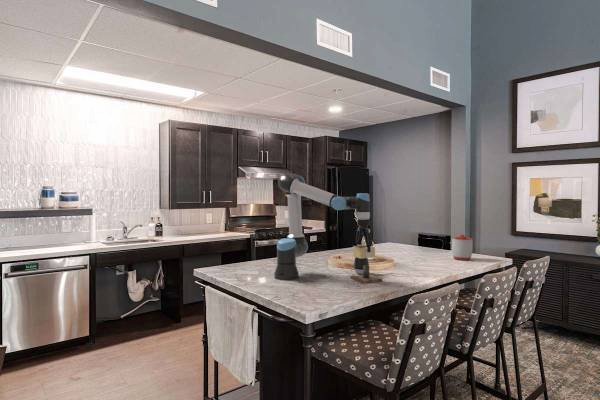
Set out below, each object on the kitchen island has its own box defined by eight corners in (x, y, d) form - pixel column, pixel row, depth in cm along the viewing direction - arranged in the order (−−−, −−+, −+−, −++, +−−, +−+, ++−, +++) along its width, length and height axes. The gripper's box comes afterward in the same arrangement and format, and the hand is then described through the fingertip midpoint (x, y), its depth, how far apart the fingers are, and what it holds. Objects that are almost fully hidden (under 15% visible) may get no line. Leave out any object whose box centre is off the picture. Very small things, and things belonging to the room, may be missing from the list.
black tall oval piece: (351, 274, 235) (351, 250, 235) (356, 271, 244) (356, 248, 244) (366, 276, 230) (366, 251, 230) (371, 272, 239) (371, 249, 239)
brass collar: (360, 258, 212) (360, 248, 212) (353, 256, 221) (352, 246, 221) (374, 257, 215) (374, 247, 215) (367, 255, 224) (366, 245, 224)
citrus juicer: (455, 256, 302) (455, 232, 302) (476, 259, 288) (476, 234, 288) (445, 258, 292) (445, 233, 292) (467, 261, 279) (467, 235, 278)
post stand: (361, 283, 210) (361, 269, 210) (350, 278, 223) (350, 264, 223) (382, 281, 215) (382, 267, 215) (370, 276, 228) (370, 263, 228)
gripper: (378, 219, 209) (379, 258, 209) (360, 217, 230) (360, 253, 230) (367, 220, 206) (367, 259, 207) (349, 218, 227) (350, 254, 228)
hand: (364, 256), depth 218 cm, fingers closed on brass collar, 9 cm apart
